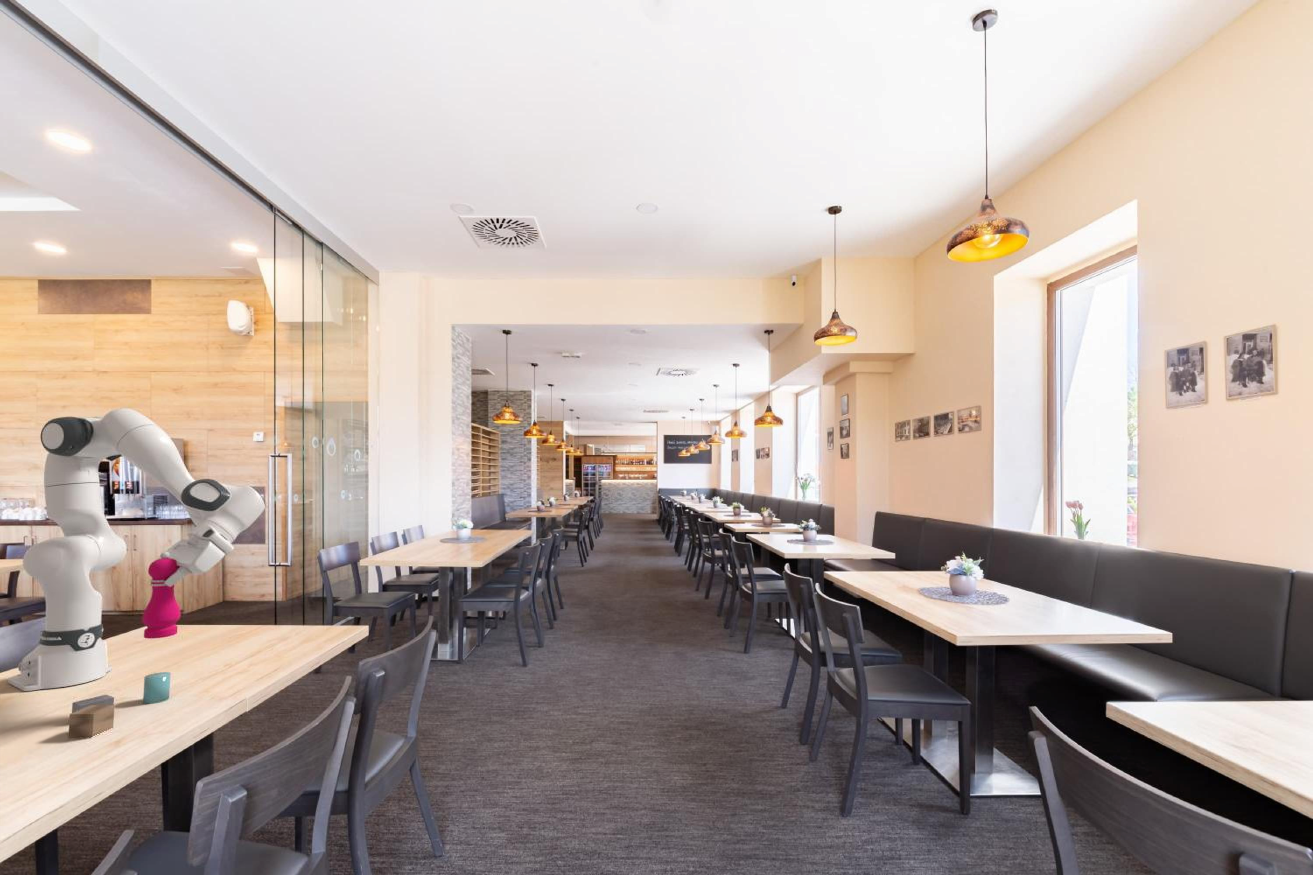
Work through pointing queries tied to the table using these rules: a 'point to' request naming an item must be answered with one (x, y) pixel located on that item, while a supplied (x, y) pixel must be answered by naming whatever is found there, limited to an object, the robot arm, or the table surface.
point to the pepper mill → (161, 600)
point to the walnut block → (91, 721)
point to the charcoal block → (92, 702)
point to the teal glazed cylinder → (156, 688)
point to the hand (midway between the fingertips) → (160, 583)
